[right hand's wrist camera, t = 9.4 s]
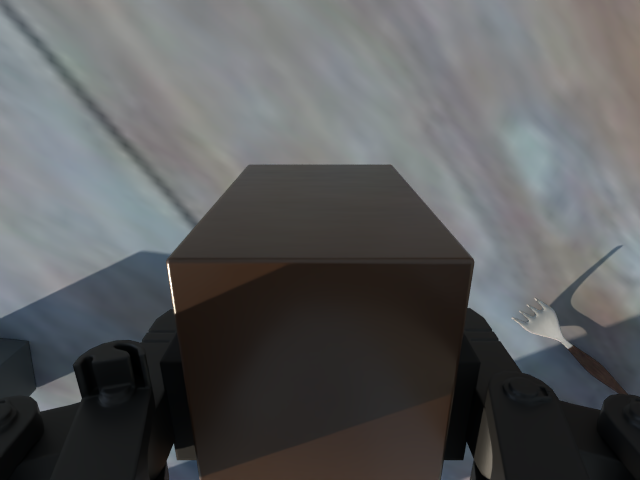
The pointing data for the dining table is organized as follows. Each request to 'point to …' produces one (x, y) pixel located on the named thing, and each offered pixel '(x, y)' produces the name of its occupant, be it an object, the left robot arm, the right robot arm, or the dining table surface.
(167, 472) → the right robot arm
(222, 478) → the plank
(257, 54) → the dining table surface
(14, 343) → the slate block
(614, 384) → the fork
